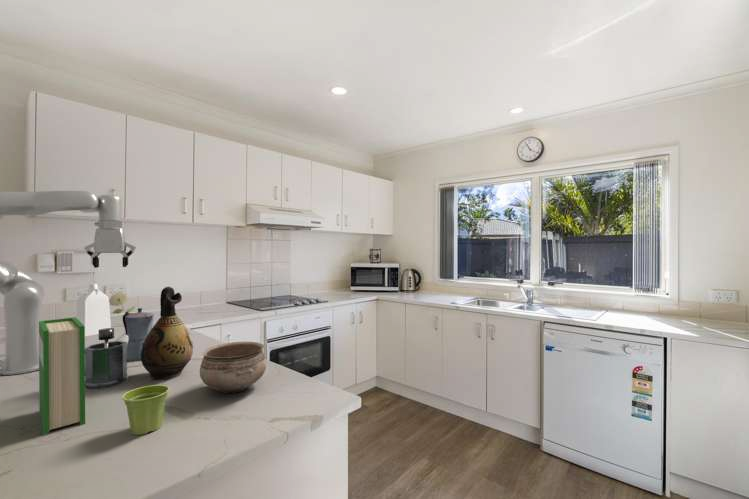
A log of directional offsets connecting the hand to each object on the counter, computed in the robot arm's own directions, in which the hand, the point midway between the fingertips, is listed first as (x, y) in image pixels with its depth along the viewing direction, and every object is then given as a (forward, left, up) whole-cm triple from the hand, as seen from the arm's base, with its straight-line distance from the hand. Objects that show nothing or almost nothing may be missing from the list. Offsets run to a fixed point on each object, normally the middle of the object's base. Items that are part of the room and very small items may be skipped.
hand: (110, 267), depth 143 cm
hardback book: (+7, -60, -36) cm, 71 cm away
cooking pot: (+48, -57, -36) cm, 83 cm away
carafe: (+8, -35, -36) cm, 51 cm away
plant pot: (+29, -75, -36) cm, 88 cm away
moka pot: (+11, -8, -36) cm, 39 cm away
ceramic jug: (+26, -34, -36) cm, 56 cm away
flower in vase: (+1, +17, -36) cm, 40 cm away
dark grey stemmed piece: (+9, -35, -34) cm, 49 cm away
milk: (-24, +55, -36) cm, 70 cm away
